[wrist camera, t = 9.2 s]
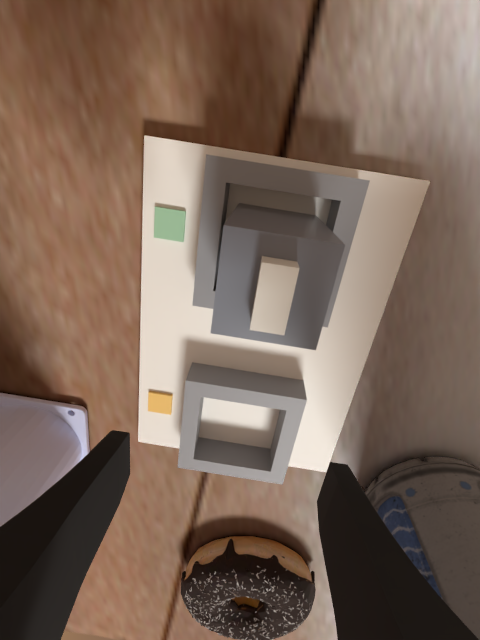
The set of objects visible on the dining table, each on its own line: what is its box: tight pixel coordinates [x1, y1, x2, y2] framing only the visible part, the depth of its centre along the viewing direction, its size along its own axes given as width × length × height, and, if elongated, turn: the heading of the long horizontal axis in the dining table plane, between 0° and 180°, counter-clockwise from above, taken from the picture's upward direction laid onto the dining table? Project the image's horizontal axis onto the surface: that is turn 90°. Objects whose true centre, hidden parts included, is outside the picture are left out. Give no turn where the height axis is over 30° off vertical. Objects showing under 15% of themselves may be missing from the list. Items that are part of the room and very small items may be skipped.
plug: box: [211, 203, 345, 350], centre depth 15 cm, size 4×4×8 cm
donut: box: [181, 536, 315, 640], centre depth 30 cm, size 11×12×4 cm
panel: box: [138, 135, 430, 484], centre depth 20 cm, size 14×20×3 cm
